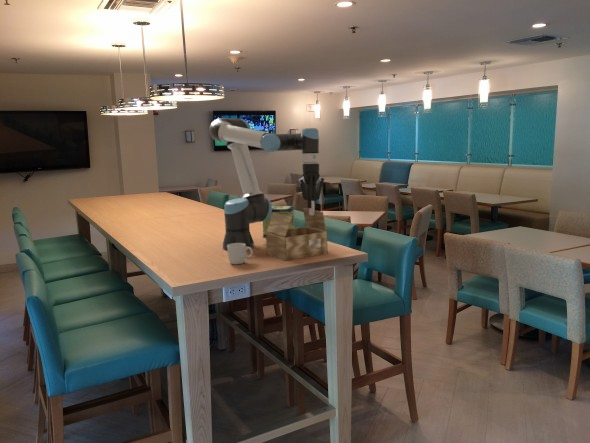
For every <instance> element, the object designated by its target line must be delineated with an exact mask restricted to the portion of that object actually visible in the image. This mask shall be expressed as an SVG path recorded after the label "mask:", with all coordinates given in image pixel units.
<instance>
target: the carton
mask: <svg viewBox="0 0 590 443" xmlns="http://www.w3.org/2000/svg"><path fill="white" fill-rule="evenodd" d="M265 238H266V239H265V241H266V242H265V243H266V254H268V255H270V256H272V257H275V258H277V259H280V260H283V261H284V262H286V261H292V260H293V261H294V260H298V259H303V258H304V259H305V258H310V257H313V256H314V257H315V255H316V256H321V255H325V254H326V253H327V254H328V231H327V230H326V231H325V230H321V229H317V228H313V227H309V226H302V227H294V228H292V229H288V231H287V234H286V237H285V236H281V235H278V234H275V233H272V232H266V237H265ZM320 254H321V255H320ZM309 256H310V257H309Z"/></svg>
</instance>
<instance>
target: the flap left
mask: <svg viewBox="0 0 590 443" xmlns="http://www.w3.org/2000/svg"><path fill="white" fill-rule="evenodd" d="M291 220H292V217H289V216H285V215H281V214H276V213H273V215H272V218H271V221H270V224H269V227H268V229H267V231H268V232H272V233H275V234H278V235H281V236H285V237H286V234H287V231H288V228H289V225H290V223H291Z"/></svg>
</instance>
